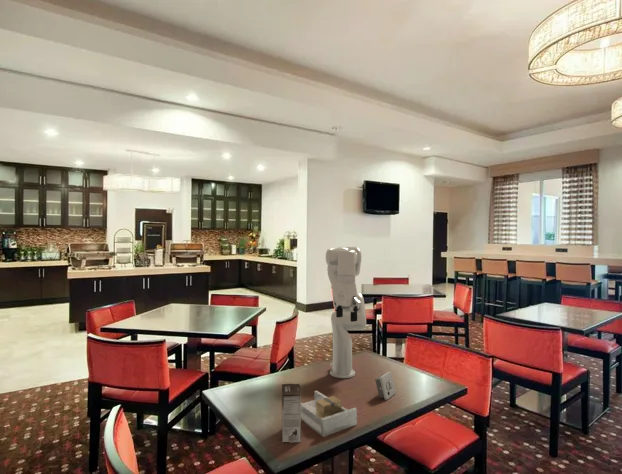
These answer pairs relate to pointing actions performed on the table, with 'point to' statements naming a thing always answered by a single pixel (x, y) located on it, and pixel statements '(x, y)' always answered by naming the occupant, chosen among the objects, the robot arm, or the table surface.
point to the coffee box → (291, 413)
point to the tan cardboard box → (328, 406)
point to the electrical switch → (385, 386)
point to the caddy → (328, 423)
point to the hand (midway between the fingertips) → (346, 319)
